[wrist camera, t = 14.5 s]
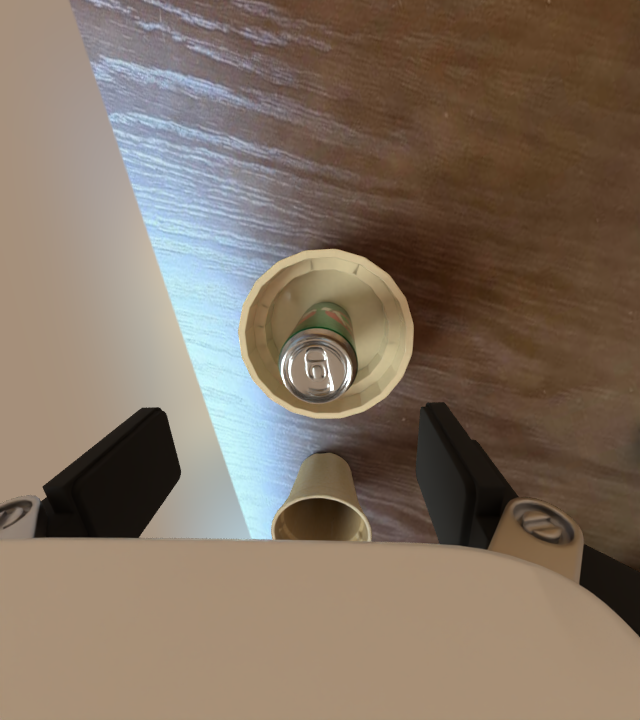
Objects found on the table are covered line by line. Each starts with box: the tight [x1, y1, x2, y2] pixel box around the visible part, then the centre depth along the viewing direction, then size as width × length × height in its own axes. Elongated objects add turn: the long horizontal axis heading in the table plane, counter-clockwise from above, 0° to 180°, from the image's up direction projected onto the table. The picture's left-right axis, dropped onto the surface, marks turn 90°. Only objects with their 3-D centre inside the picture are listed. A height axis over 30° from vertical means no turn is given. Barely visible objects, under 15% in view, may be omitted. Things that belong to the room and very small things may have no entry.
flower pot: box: [271, 453, 372, 542], centre depth 32 cm, size 9×9×9 cm
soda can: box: [278, 302, 358, 404], centre depth 23 cm, size 5×5×12 cm
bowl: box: [238, 249, 414, 418], centre depth 27 cm, size 14×14×6 cm
